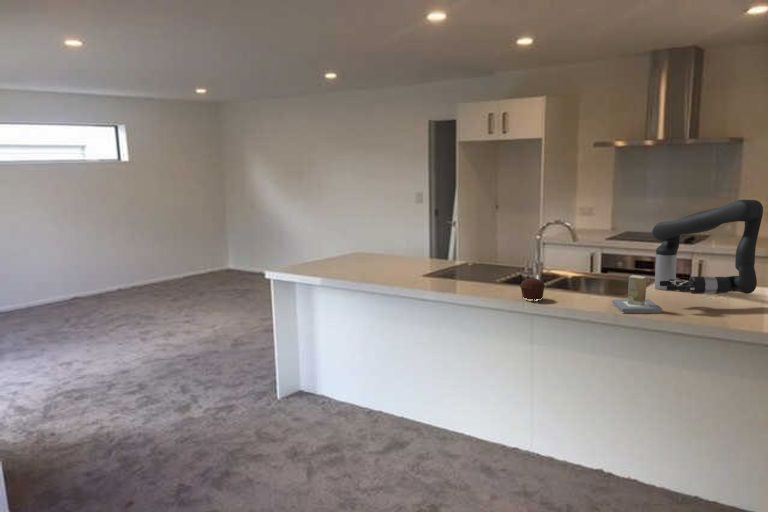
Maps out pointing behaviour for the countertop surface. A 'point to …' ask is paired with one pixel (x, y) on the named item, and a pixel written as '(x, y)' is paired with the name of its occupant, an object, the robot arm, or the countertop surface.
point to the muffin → (532, 288)
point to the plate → (637, 307)
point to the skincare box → (637, 290)
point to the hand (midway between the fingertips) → (663, 285)
